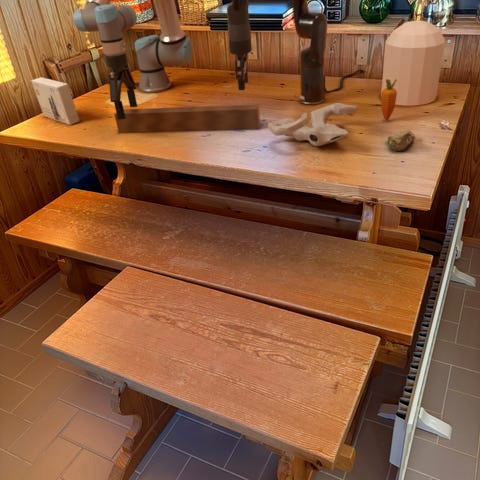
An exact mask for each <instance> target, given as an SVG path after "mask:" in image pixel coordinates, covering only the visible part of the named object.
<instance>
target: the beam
mask: <svg viewBox="0 0 480 480" xmlns="http://www.w3.org/2000/svg"><path fill="white" fill-rule="evenodd" d="M259 105H260V104H238V105H237V104H236V105H235V104H233V105H207V106H181V107H180V106H179V107H178V106H177V107H151V108H150V107H149V108H126V109H125V108H123V109H124V113H125V118H126V119H118V117H117V113H116V112H115V113H114V118H115V119H114V120H115V123H116V127H117V132H118V134H137V133H139V134H140V133H168V132H169V133H170V132H171V133H174V132H175V133H176V132H208V131H212V132H213V131H245V130H246V131H247V130H259V129H260V125H261V119H260V106H259Z"/></svg>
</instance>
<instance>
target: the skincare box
mask: <svg viewBox="0 0 480 480" xmlns="http://www.w3.org/2000/svg"><path fill="white" fill-rule="evenodd" d="M30 81H31V85H32V86H33V90H34V93H35V95H36V98H37V101H38V104H39V106H40V109H41V112H42V115H43V117H45V118H48V119H51V120H54V121H57V122H60V123H62V124H65V125H69V126H72V125H73V124H76V123H79V122H81V119H80V117H79V114H78V111H77V109H76V104H75V102H74V98H73V96H72V92H71V90H70V87H69V84H68V82H67V83H66V82H62V81H58V80H55V79H51V78H46V77H42V76H40V77H38V78H35V79H31V80H30Z"/></svg>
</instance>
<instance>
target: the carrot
mask: <svg viewBox="0 0 480 480" xmlns="http://www.w3.org/2000/svg"><path fill="white" fill-rule="evenodd" d="M396 81H397V79H395V80H394V82H393V84H391V82H390V79H386V83H387V85H386V87H387V88H386V89H384V90H383V91H382V98H381V97H380V99H381V100H380V101H381V102H380V104H381V112H382V113H381V114H382V117H383V119H384V120H385V121H386V122H388V121H389V119H390V118H391V117H392V114H393V112H394V109H395V106H396V105H395V102H396V95H397V91H396V90H395V89H394V88H393V86H394V84H395V83H396ZM389 85H390V86H389ZM391 85H392V86H391Z"/></svg>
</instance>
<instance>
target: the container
mask: <svg viewBox="0 0 480 480" xmlns="http://www.w3.org/2000/svg"><path fill="white" fill-rule="evenodd" d="M445 44H446V40H445V37H444V35H443V33H442V31H441V29H440V28H439V27H437V26H436V25H434V24H433V23H431V22H429V21H425V20H410V21H406V22H404V23H402V24H401V25H400V26H398V27H397V28H395V29H393V31H391V33H390V35H389V36H388V37H387V39H386V40H385V41H384V56H383V64H382V65H383V66H382V78H381V92H380V99H381V98H382V91H383V90H384V89H386V88H387V87H386V85H387V83H386V79H390V82H391V84H393V82H394V80H395V79H397V81H396V83H395V84H394V86H393V88H394V89H395V90H396V91H397V95H396V102H395V106H405V107H410V106H421V105H428V104H430V103H432V102H434V101H435V100H436V99H437V97H438V96H437V94H438V90H439V83H440V76H441V71H442V70H441V69H442V64H443V57H444V51H445ZM389 86H390V85H389ZM391 86H392V85H391Z"/></svg>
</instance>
